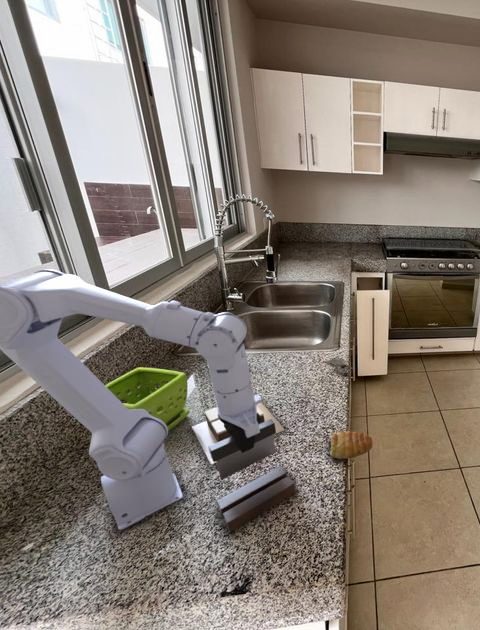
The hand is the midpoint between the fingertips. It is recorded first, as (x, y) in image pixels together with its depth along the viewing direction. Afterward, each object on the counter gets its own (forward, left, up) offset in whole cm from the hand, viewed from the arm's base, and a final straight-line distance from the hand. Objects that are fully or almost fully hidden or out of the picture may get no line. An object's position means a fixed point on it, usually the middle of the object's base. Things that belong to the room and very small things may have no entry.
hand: (245, 446), depth 64 cm
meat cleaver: (+37, +28, -10) cm, 47 cm away
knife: (0, 0, -5) cm, 5 cm away
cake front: (+3, +17, -10) cm, 20 cm away
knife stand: (-1, -4, -10) cm, 11 cm away
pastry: (+19, -4, -10) cm, 22 cm away
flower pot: (-12, +33, -10) cm, 37 cm away
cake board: (+3, +19, -10) cm, 22 cm away
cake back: (+3, +23, -10) cm, 25 cm away
